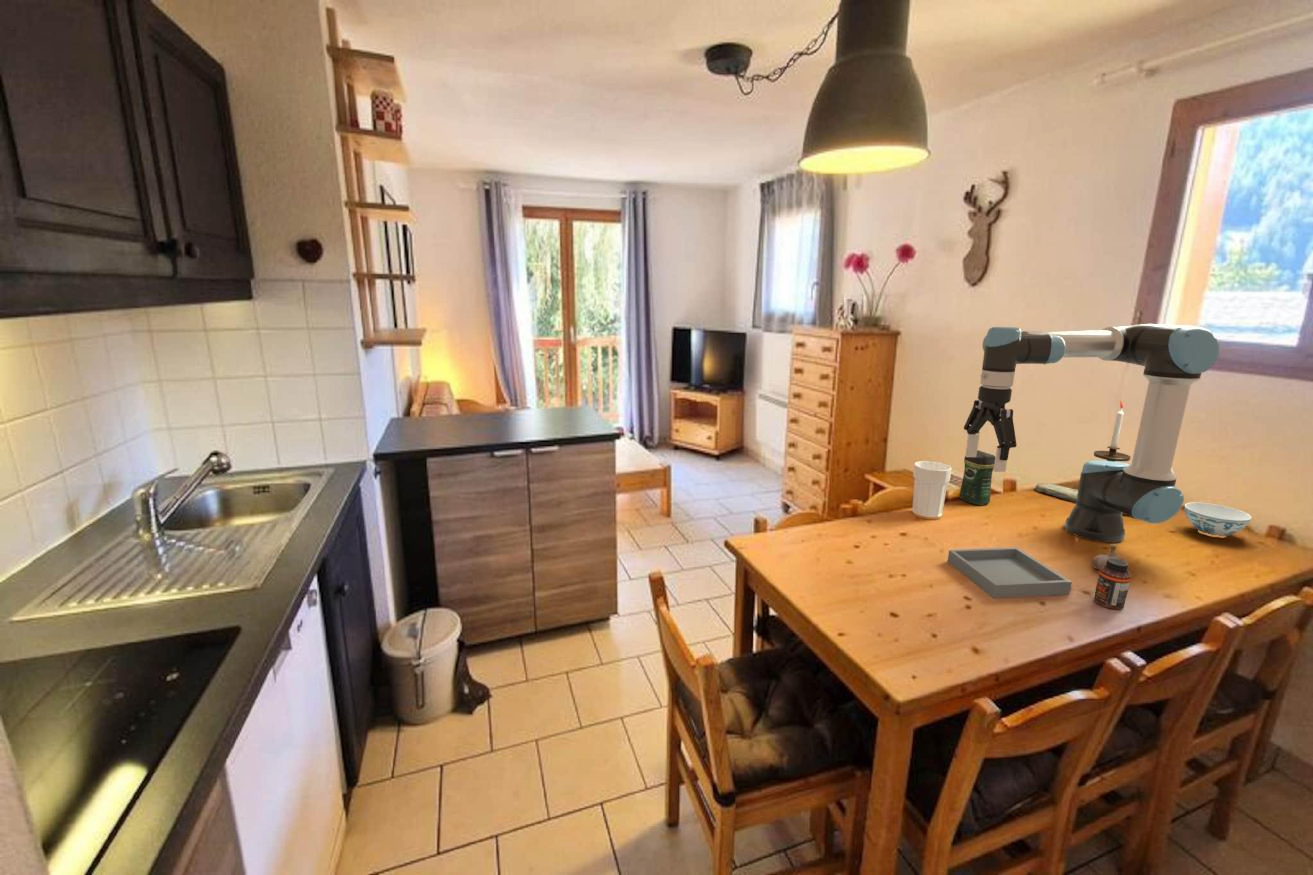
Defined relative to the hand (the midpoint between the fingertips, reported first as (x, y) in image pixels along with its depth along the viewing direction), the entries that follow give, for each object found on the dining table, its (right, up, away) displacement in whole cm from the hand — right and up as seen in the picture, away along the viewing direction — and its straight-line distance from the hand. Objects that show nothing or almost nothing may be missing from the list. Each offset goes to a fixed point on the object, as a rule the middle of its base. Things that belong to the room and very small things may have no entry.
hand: (984, 463), depth 158 cm
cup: (+2, -19, +39) cm, 43 cm away
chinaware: (+84, -23, +23) cm, 90 cm away
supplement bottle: (+20, -33, -17) cm, 43 cm away
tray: (+3, -30, -4) cm, 30 cm away
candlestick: (+81, -13, +62) cm, 102 cm away
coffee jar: (+25, -16, +51) cm, 59 cm away
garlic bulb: (+33, -29, -1) cm, 44 cm away
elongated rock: (+66, -17, +50) cm, 84 cm away
